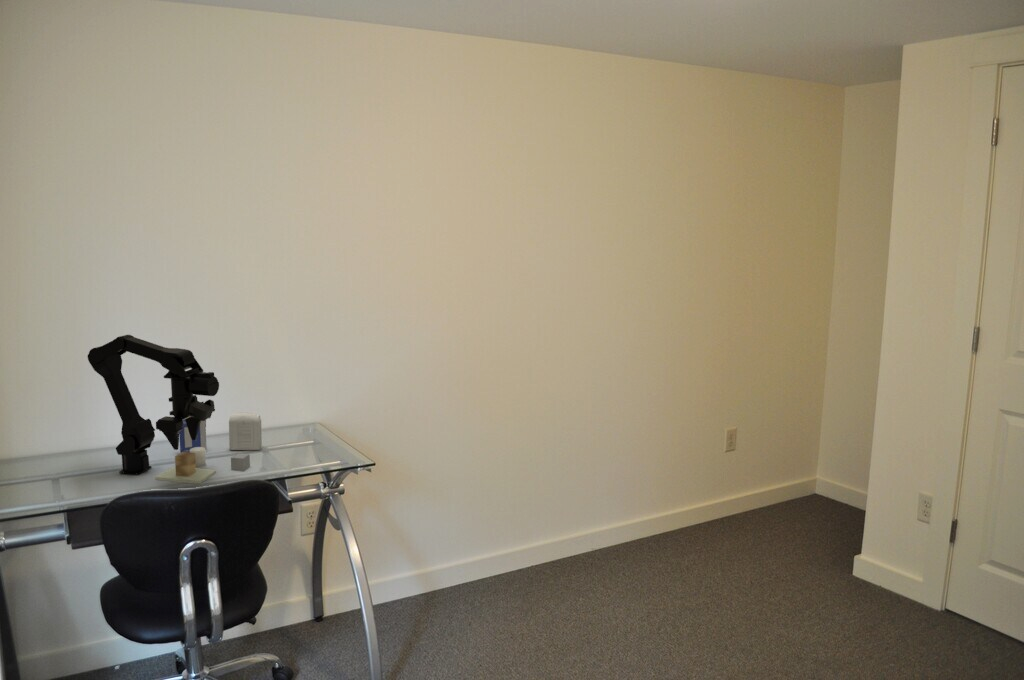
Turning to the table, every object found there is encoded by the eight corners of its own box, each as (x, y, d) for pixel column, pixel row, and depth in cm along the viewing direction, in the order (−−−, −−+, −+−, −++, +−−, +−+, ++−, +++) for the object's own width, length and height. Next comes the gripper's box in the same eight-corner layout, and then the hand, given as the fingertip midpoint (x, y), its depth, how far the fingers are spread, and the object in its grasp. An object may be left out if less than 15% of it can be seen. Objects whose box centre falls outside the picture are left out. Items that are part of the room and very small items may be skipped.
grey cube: (231, 470, 230) (230, 457, 229) (237, 465, 234) (237, 453, 233) (243, 471, 229) (243, 458, 229) (249, 466, 233) (249, 454, 233)
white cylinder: (187, 466, 232) (186, 450, 231) (195, 461, 236) (194, 446, 235) (201, 467, 231) (200, 452, 230) (208, 462, 235) (208, 447, 234)
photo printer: (263, 446, 252) (262, 411, 250) (260, 450, 248) (259, 414, 246) (231, 447, 251) (229, 411, 248) (228, 451, 246) (226, 414, 244)
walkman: (182, 454, 242) (180, 418, 240) (180, 452, 244) (178, 416, 242) (207, 450, 246) (206, 415, 244) (205, 448, 249) (204, 413, 246)
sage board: (155, 479, 220) (155, 477, 220) (173, 469, 229) (172, 466, 229) (199, 483, 218) (199, 480, 218) (216, 472, 227) (216, 470, 227)
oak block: (175, 475, 222) (174, 456, 221) (183, 470, 226) (182, 451, 224) (188, 476, 221) (187, 457, 220) (196, 471, 225) (195, 452, 224)
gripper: (190, 403, 209) (193, 457, 212) (224, 387, 227) (226, 437, 230) (153, 400, 210) (156, 454, 213) (190, 385, 228) (192, 434, 231)
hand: (185, 444), depth 222 cm, fingers open, 9 cm apart
